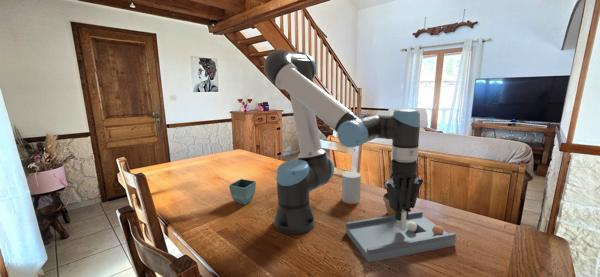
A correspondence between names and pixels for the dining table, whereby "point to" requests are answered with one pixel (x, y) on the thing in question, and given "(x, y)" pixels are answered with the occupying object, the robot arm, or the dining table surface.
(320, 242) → the dining table surface
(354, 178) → the cup
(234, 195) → the flower pot
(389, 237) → the tray
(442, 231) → the rust ball
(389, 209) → the potted plant
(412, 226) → the ball
